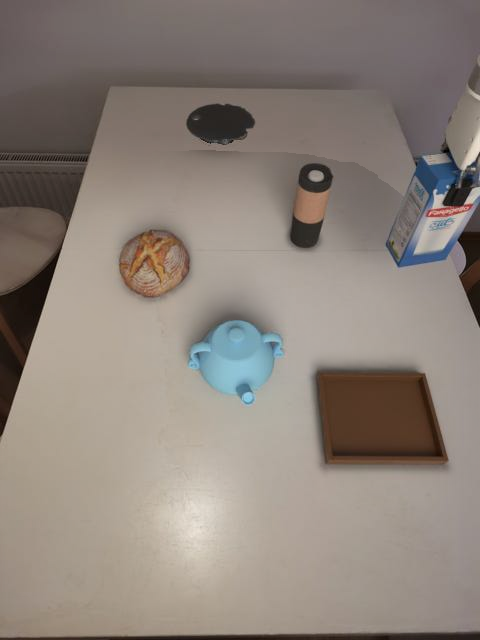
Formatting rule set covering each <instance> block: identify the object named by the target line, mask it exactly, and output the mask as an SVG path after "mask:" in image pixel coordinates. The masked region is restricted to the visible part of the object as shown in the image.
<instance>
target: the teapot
mask: <svg viewBox="0 0 480 640" xmlns="http://www.w3.org/2000/svg"><path fill="white" fill-rule="evenodd" d="M271 342H275V343H274V344H273V346H272V343H271ZM282 346H283V338H282V336H281V334H280V333H277V332H265V333H264V331H263V330H261V329H260V328H259V326H256V325H255V324H253V323H251V322H249V321H246V320H242V319H233V320H232V319H231V320H227V321H224V322H222V323H219V324H218V325H216V326H215V327H214V328H212V329H211V330H210V331H209V332H208V333H207V334H206V335H205V337H204V339H203V340H202V341H201V342H200V341H199V342H196V343H194V344H192V345H191V346H190V348H189V356H190V358H189V359H188V360H187V367H188V369H190V370H194V371H197V370H199V372H200V375H201V377H202V378H203V380H204V381H205V382H206V383H207V384H208V385H209V387H211V388H212V389H214V390H216V391H218V392H220V393H222V394H226V395H231V396H238V398H239V399H240V401H241V402H242V404H243V405H245V406H248V407H249V406H252V405H254V404H255V402H256V395H255V394H254V392H255V391H257V390H258V389H260V388H262V387H263V386H264V385H266V383H267V382H268V381H269V379H270V377H271V376H272V374H273V370H274V367H275V360H278V359H281V358H283V357H284V355H285V349H284V348H282ZM197 353H198V355H197Z"/></svg>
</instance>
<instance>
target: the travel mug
mask: <svg viewBox="0 0 480 640" xmlns="http://www.w3.org/2000/svg"><path fill="white" fill-rule="evenodd" d="M333 179H334V174H333V173H332V171H331V168H330V167H329V166H328V165H327V164H323V163H319V162H310V163H307V164H304V165H303V166H302V167H300V170H299V174H298V179H297V186H296V193H295V196H294V197H295V198H294V204H293V209H292V210H293V211H292V219H291V226H290V227H291V228H290V241H291V243H292V244H293V245H295V246H296V247H298V248H301V249H310V248H313V247H314V246H316V244H317V243H318V241H319V238H320V234H321V231H322V226H323V223H324V219H325V216H326V212H327V207H328V203H329V198H330V193H331V189H332V184H333Z"/></svg>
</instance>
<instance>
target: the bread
mask: <svg viewBox="0 0 480 640" xmlns="http://www.w3.org/2000/svg"><path fill="white" fill-rule="evenodd" d="M118 267H119V273H120V276H121V278H122V280H123V282H124V284H125V286H126V287H127V288H128V289H130V291H132V292H134V293H136V294H138V295H141V296H142V297H144V298H157V297H160V296H162V295H166V294H167V293H169V292H170V291H173V290H174V289H175V287H177V286H179V284H181V283H182V282H183V281H184V280H185V279H186V277H187V275H188V274H189V272H190V257H189V253H188V250H187V248H186V247H185V245H184V244H183V241H182V240H181V239H180V237H178V236H177V235H176V234H174V233H172V232H171V231H169V230H165V229H149V231H148V232H147V231H144V232H142V233H139V234H137V235H135V236H134V237H132V238H131V239H129V240H128V241H127V242H126V243H124V245H123V246H122V248H121V250H120V253H119V258H118Z"/></svg>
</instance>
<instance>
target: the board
mask: <svg viewBox="0 0 480 640" xmlns="http://www.w3.org/2000/svg"><path fill="white" fill-rule="evenodd" d="M195 119H198V120H195ZM185 125H186V126H185V127H186V129H187V130H188V132H189V133H190V134H191V135H192V136H194V137H196V138H197V137H198V138H200V139H201V140H203V141H205V142H207V143H210V144H211V143H218V144H222V145H227V144H229V143H232V142H233V141H234V140H241V141H244V140H245V139H246V138H247V137H248V134H249V133H248V132H249V131H248V130H250V129H254V128H255V126H256V120H255V118H254V117H253V115H252V114H251V112H250V111H248V110H247V109H246V108H245V107H242V106H240V105H235V104H231V103H225V104H222V103H218V102H217V103H209V104H204V105H201V106H198V107H197V108H196V109H194V110H192V111H191V113H189V114H188V116H187V119H186V123H185ZM198 138H197V139H198ZM200 139H199V140H200ZM201 140H200V141H201Z"/></svg>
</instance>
